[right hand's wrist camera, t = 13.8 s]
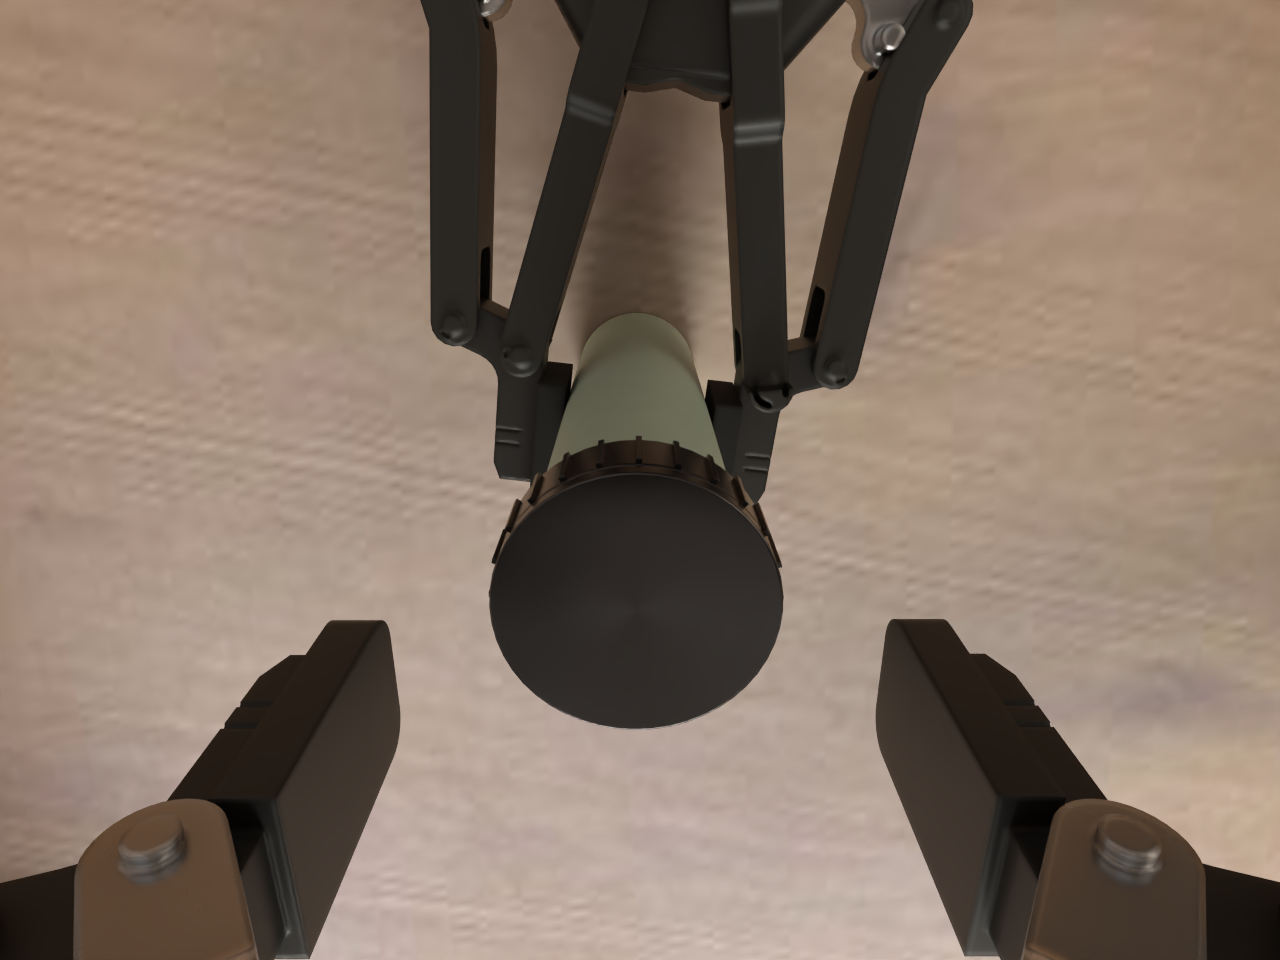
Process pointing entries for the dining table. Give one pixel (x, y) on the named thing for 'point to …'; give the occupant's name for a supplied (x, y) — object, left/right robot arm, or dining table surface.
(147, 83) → the dining table surface
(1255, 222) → the dining table surface
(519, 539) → the lid
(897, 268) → the dining table surface
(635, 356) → the jar
